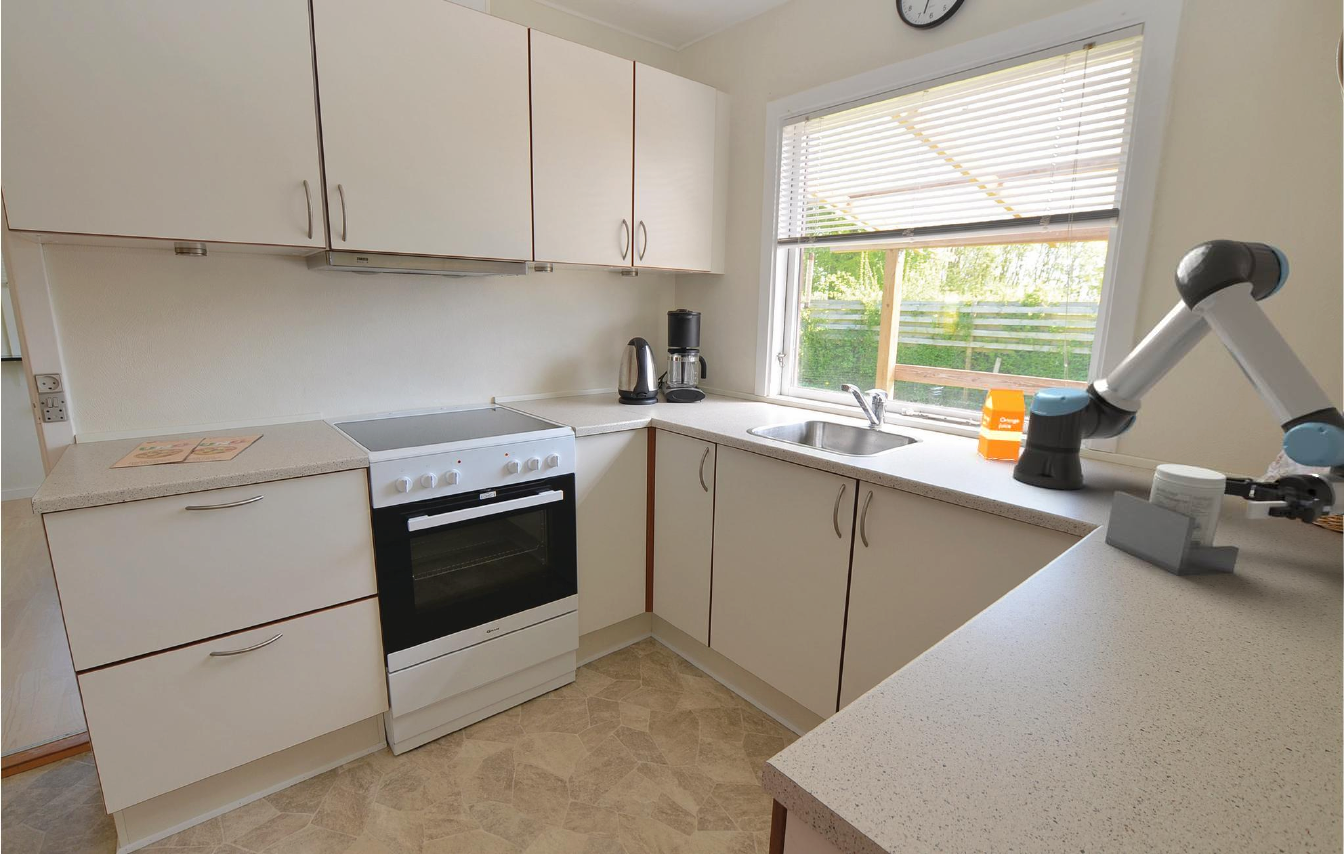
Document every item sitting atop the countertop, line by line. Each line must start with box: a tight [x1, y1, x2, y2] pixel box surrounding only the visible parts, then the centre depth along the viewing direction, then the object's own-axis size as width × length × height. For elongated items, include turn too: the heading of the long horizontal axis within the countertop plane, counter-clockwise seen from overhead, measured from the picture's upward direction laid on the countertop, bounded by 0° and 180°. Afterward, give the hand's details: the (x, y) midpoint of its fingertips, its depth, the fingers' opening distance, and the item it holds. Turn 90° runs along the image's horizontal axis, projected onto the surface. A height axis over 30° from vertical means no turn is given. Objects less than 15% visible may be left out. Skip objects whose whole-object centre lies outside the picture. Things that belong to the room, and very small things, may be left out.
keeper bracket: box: [1104, 490, 1240, 576], centre depth 106 cm, size 14×11×10 cm
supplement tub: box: [1148, 463, 1227, 548], centre depth 105 cm, size 10×10×15 cm
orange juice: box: [977, 388, 1026, 461], centre depth 174 cm, size 8×9×20 cm
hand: (1207, 497), depth 105 cm, fingers open, 13 cm apart
